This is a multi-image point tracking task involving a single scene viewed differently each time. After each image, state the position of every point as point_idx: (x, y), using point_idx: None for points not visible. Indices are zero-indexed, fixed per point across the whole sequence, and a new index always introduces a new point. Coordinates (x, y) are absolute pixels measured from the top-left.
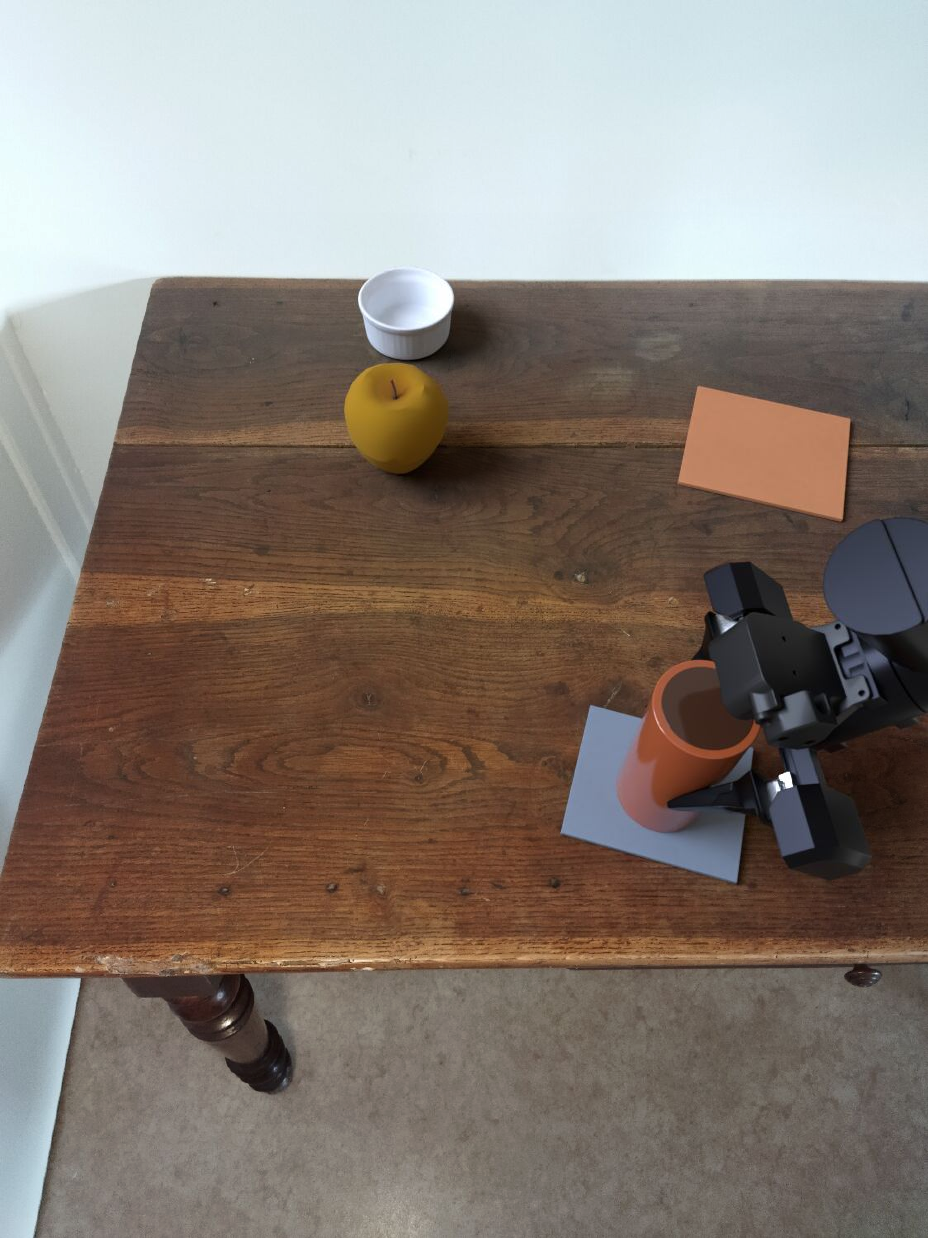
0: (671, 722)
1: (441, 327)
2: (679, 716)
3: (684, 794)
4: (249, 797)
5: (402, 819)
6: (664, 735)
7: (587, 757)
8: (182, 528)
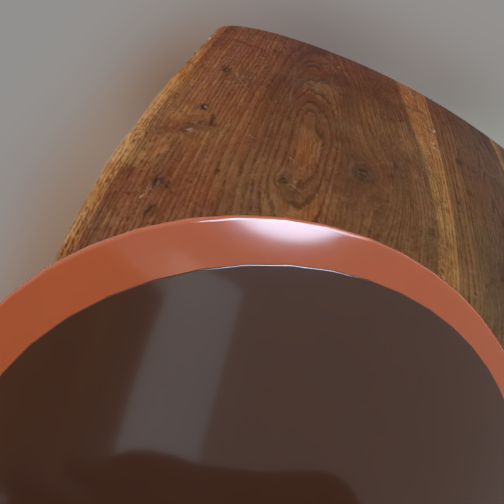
0: (240, 295)
1: None
2: (277, 378)
3: None
4: (287, 91)
5: (245, 157)
6: (166, 228)
7: None
8: (458, 135)
